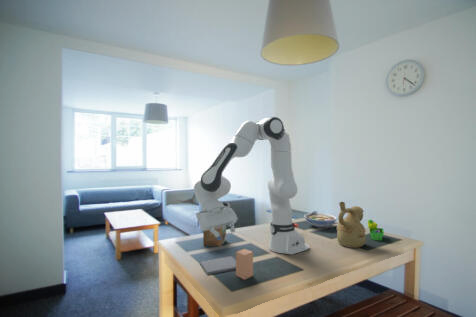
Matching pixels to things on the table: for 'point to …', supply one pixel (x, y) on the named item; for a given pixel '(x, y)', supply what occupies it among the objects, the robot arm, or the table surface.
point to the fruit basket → (375, 230)
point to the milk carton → (211, 239)
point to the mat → (218, 265)
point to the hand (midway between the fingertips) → (226, 234)
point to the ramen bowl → (320, 219)
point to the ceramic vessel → (350, 227)
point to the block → (244, 264)
